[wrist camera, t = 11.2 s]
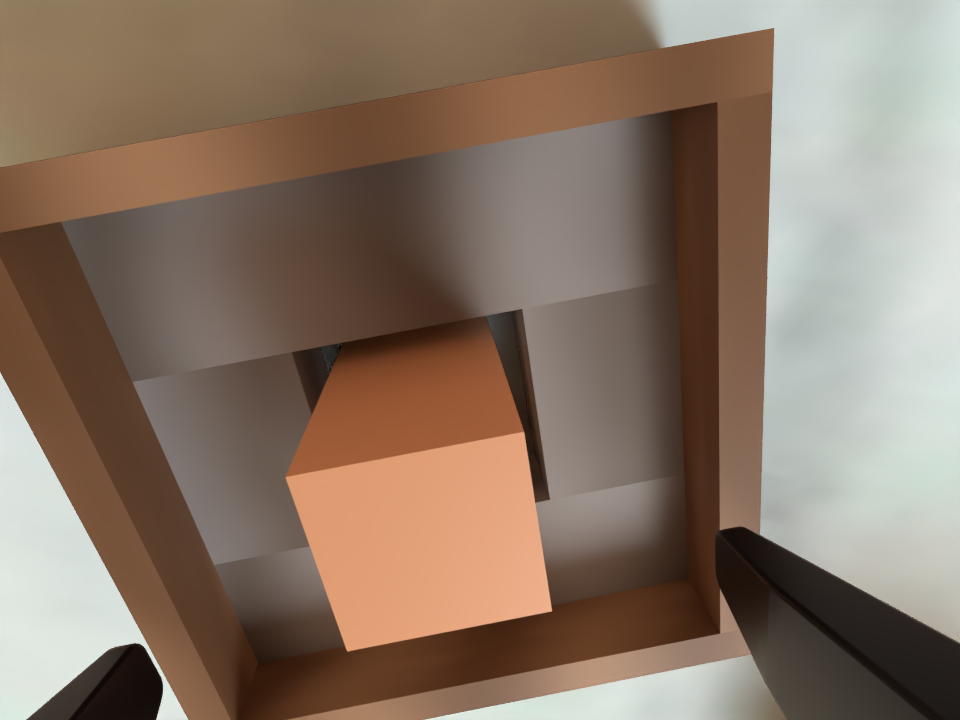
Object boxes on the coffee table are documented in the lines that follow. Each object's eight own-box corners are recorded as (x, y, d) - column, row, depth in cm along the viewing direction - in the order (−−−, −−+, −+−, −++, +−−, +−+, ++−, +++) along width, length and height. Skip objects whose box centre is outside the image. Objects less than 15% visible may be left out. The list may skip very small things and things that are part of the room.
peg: (378, 458, 17) (347, 651, 11) (344, 337, 16) (285, 477, 9) (505, 433, 17) (552, 611, 11) (484, 311, 16) (524, 431, 9)
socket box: (259, 626, 19) (211, 761, 15) (64, 172, 13) (-101, 185, 9) (685, 542, 19) (756, 652, 15) (668, 62, 14) (773, 28, 10)
